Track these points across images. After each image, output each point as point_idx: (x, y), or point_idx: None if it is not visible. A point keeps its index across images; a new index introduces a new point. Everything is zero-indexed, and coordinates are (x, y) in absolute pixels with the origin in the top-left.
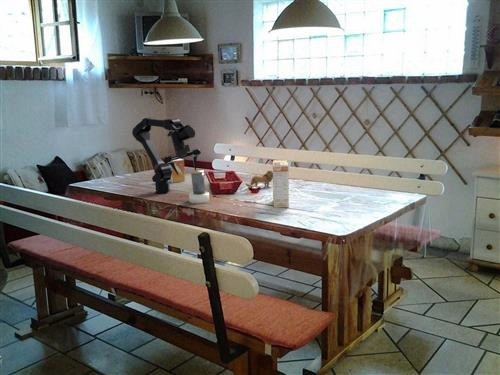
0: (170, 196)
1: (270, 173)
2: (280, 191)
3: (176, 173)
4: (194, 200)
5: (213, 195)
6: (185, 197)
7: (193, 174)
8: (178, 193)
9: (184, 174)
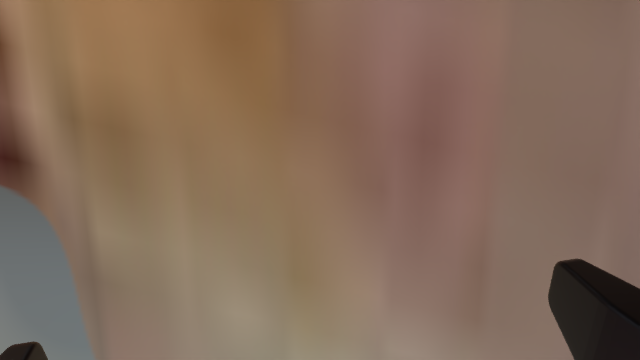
0: (571, 174)
1: None
2: None
3: (626, 287)
4: None
5: (9, 103)
6: (373, 66)
7: None
8: (454, 313)
9: None
